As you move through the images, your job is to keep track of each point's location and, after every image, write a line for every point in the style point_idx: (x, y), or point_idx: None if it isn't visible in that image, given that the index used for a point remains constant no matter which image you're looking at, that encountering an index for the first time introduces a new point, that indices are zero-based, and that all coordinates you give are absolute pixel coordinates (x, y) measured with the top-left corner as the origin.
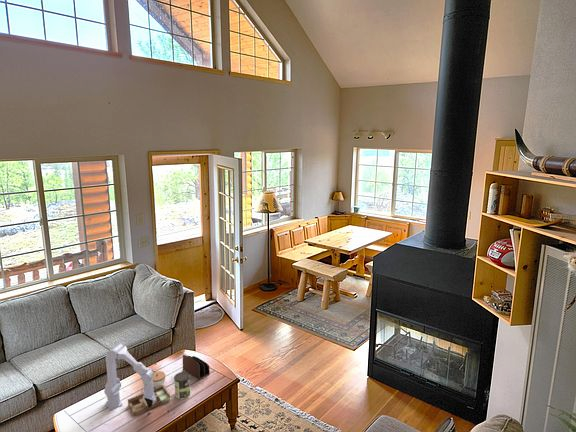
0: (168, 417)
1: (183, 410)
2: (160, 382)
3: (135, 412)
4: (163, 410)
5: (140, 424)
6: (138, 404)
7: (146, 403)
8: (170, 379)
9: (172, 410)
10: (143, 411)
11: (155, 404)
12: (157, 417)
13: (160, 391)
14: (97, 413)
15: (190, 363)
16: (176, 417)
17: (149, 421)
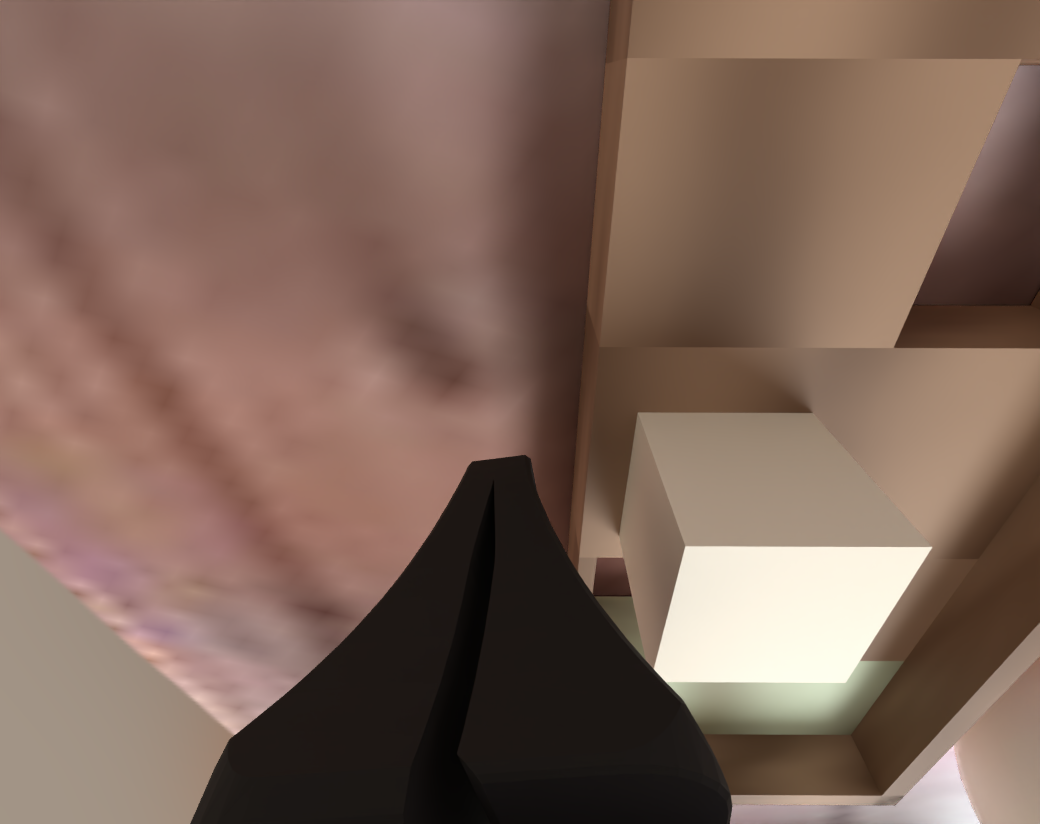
0: (162, 572)
1: (246, 714)
2: (1009, 820)
3: (625, 21)
4: (382, 569)
5: (95, 18)
6: (900, 263)
7: (651, 476)
8: (951, 773)
9: (312, 644)
10: (590, 285)
11: (574, 553)
12: (232, 451)
13: (824, 704)
14: None
15: None
16: (123, 637)
17: (155, 285)
